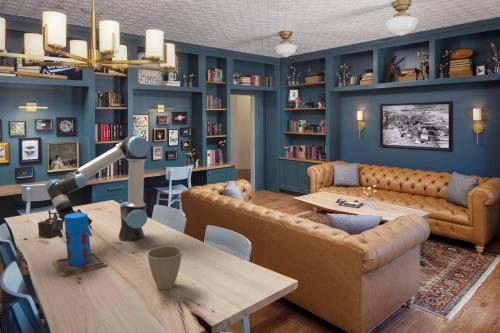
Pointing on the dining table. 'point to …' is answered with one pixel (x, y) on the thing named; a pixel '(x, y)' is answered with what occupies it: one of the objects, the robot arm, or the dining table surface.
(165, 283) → the plant pot
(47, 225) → the manual coffee grinder
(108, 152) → the robot arm
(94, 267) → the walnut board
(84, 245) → the thermos
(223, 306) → the dining table surface
